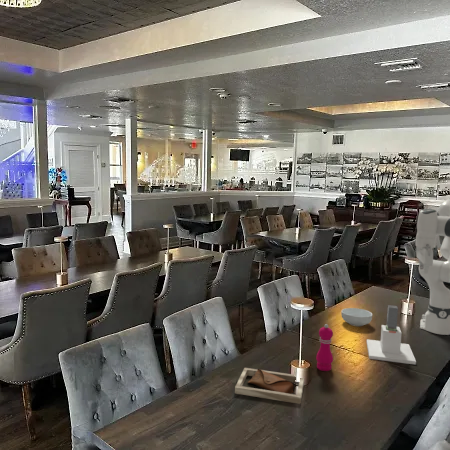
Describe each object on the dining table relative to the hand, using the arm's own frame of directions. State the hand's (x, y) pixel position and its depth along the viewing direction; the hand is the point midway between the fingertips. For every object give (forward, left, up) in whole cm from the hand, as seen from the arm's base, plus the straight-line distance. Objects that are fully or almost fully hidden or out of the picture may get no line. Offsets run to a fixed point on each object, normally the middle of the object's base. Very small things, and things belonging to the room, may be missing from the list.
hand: (423, 271), depth 200 cm
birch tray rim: (+60, -64, -39) cm, 96 cm away
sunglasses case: (+60, -64, -39) cm, 96 cm away
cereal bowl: (-26, -28, -39) cm, 55 cm away
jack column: (+10, -14, -32) cm, 37 cm away
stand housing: (+10, -14, -39) cm, 43 cm away
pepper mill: (+36, -44, -39) cm, 69 cm away
